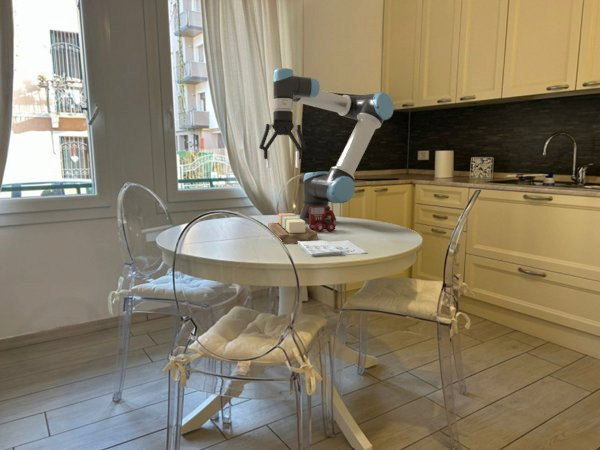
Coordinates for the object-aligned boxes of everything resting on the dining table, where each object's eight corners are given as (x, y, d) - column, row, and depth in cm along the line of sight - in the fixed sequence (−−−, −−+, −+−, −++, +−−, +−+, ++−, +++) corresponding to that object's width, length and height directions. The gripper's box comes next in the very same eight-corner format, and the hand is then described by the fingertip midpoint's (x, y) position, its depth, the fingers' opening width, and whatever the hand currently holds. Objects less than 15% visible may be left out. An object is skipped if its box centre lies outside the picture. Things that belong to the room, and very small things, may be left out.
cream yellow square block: (301, 229, 165) (301, 219, 164) (305, 232, 159) (305, 221, 158) (286, 230, 163) (286, 219, 163) (289, 233, 158) (289, 222, 157)
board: (300, 229, 183) (300, 221, 183) (317, 241, 158) (317, 233, 158) (268, 230, 180) (268, 222, 180) (279, 243, 155) (279, 234, 155)
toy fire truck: (339, 231, 180) (340, 206, 178) (312, 233, 175) (312, 207, 173) (331, 228, 186) (332, 204, 184) (305, 230, 181) (305, 205, 179)
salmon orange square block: (292, 222, 180) (292, 213, 179) (295, 225, 174) (295, 215, 174) (278, 223, 179) (278, 213, 178) (281, 225, 173) (281, 215, 172)
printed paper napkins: (296, 245, 154) (296, 239, 154) (350, 243, 159) (350, 237, 159) (310, 258, 136) (310, 252, 136) (370, 256, 141) (370, 249, 140)
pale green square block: (296, 226, 172) (297, 216, 172) (300, 228, 167) (300, 218, 166) (282, 226, 171) (282, 216, 170) (285, 229, 165) (285, 218, 165)
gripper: (254, 108, 162) (254, 168, 166) (314, 110, 167) (313, 168, 171) (251, 110, 169) (252, 167, 173) (309, 112, 175) (309, 167, 178)
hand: (282, 167), depth 172 cm, fingers open, 11 cm apart
